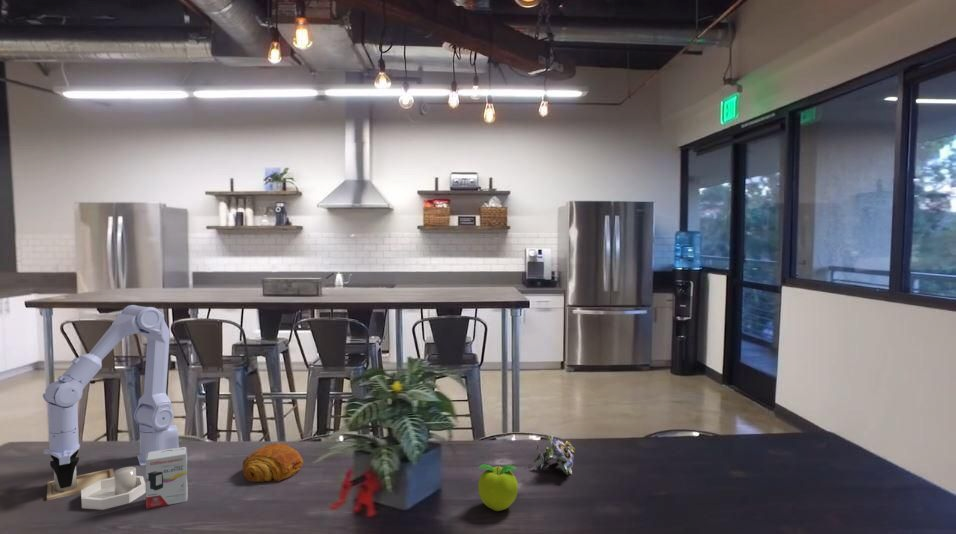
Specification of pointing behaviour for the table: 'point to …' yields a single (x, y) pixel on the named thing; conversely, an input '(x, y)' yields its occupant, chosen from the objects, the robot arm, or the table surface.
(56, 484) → the stone
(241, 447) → the table surface
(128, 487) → the grey rounded cylinder
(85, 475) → the oak tray
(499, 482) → the fruit
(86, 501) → the white octagonal dish
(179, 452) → the ink box
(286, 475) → the croissant
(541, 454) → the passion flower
